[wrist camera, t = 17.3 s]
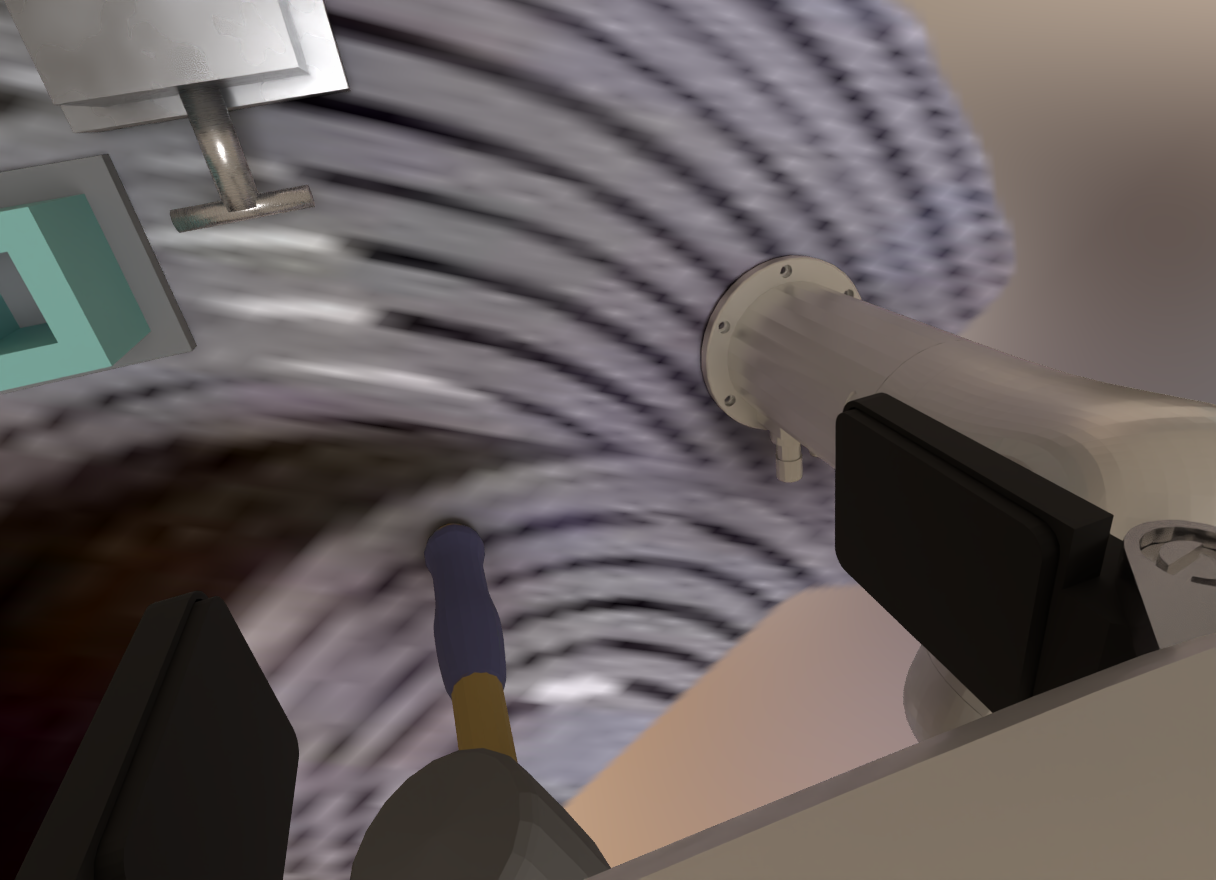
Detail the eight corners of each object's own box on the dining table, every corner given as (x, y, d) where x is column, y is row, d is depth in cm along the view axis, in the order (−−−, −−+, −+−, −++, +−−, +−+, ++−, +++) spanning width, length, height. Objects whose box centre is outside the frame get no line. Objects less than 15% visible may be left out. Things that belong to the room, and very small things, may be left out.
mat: (196, 345, 38) (192, 350, 37) (-4, 390, 36) (-14, 397, 35) (108, 154, 33) (100, 154, 32) (-127, 194, 31) (-142, 196, 30)
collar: (151, 331, 36) (111, 366, 31) (3, 362, 35) (-64, 405, 29) (84, 193, 33) (27, 206, 27) (-82, 222, 31) (-174, 242, 26)
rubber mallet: (354, 497, 44) (315, 1034, 18) (457, 444, 45) (563, 891, 19) (447, 622, 50) (517, 1157, 24) (537, 574, 51) (699, 1046, 25)
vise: (378, 186, 37) (377, 216, 25) (143, 231, 35) (16, 288, 23) (260, -216, 29) (175, -454, 17) (-52, -192, 27) (-402, -447, 15)
